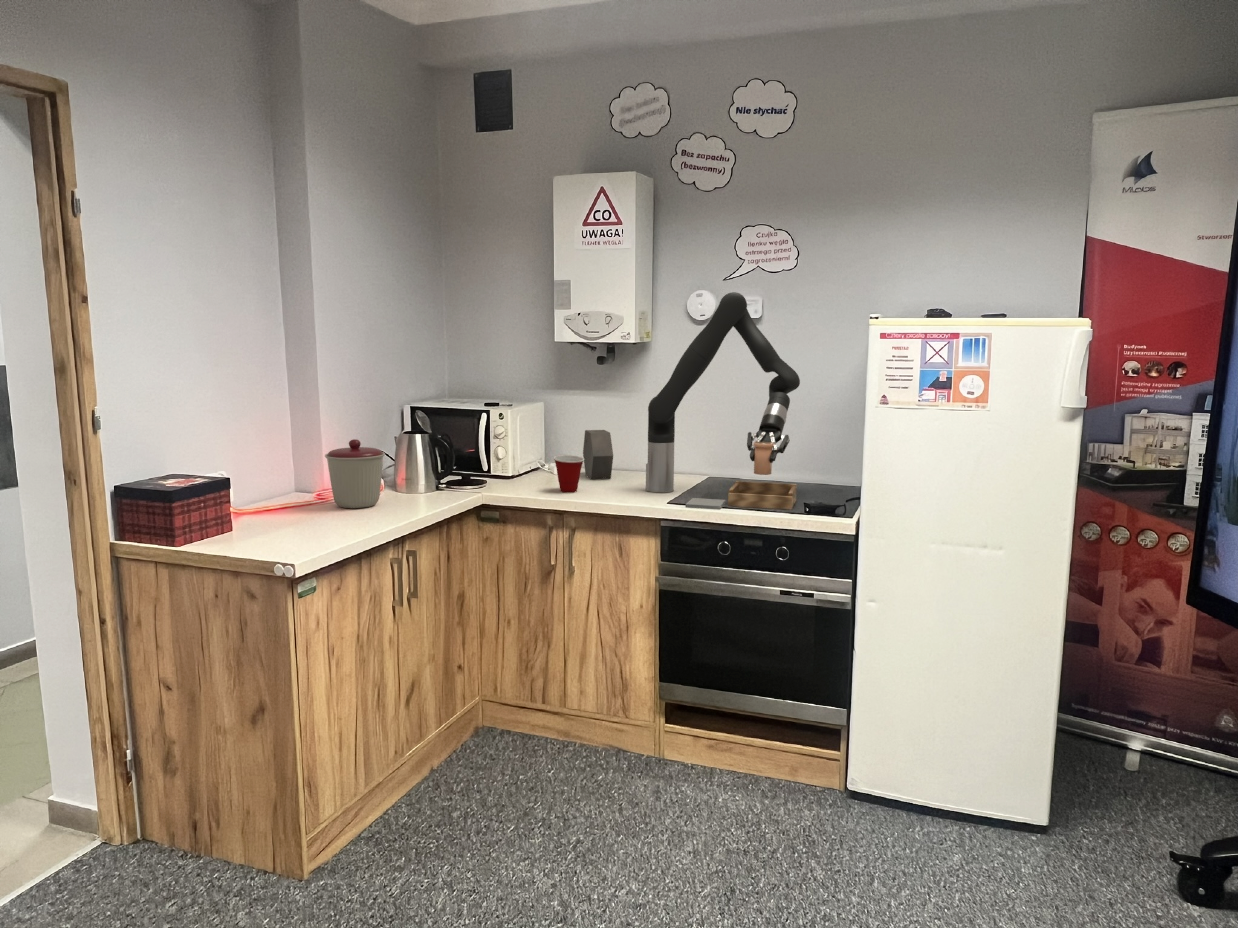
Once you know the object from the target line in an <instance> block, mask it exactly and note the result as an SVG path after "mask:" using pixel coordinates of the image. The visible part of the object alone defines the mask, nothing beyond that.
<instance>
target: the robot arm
mask: <svg viewBox="0 0 1238 928" xmlns="http://www.w3.org/2000/svg"><path fill="white" fill-rule="evenodd" d="M732 328H734V329H735V330H736V331H737V333H738V334H739V335H740V337H741V338H742V339H743V341H744V343H745V345H747V347H748V349H749V351H750V353H751V354H752V356H753V357H754V358H755V360H756V361H757V363H758V365H759V366H760V368H761V369H762V371H763V372H764V373H766V374H769V373H775V374H776V375H777V376H774V377H773V378H772V379H771V381H770V383H769V385H768V397H769V399H768V401H767V405H766V407H765V409H764V412H763V415H762V418H761V421H760V424H759V427H758V431H757V432H756V433H752V432H751V431H749V432H748V433H747V438H746V440H747V441H746V447H747V450H748V451H749V452H750V453H749V459H750V461H751V462H754V455H755V447H754V442H760V441H761V442H772V443H774V447H772V452H771V455H770V458H769V460H770V463H772V464H773V463H774V462H775V461H776V459H777V455H778V454H784V453H785V450H786V449H787V447H788V445H789V443H790V436H789V434H785V435H783V431H784V427H785V424H786V421H787V416H788V411H789V408H790V403H791V399H790V396H789V395H788V394H790V393H791V392H793V391H795V390H797V389H798V388H799V386H800V383H801V379H800V376H799V374H798V373H797V372H796V370H794V369H793V367H791V366H790V365H789V364H788V363H787V362H785V361H784V359H782V358H781V357H780V356H779V354H778V353H777V351H776V349H775V348H774V347H773V345H772V344H771V343H770V341H769V340H768V338H767V337H766V336H765V334H763V333H762V331H761V330H760V329H759V327H758V326H757V324H756V323H755V322H754V320H753V318H752V316H751V315H750V313H749V310H748V302H747V300H746V298H745V297H744V295H743V294H742V293H739V292H734V291H733V292H729V293H727V294H724V296H722V297H721V299H720V301H719V304H718V306H717V308H716V310H715V311H714V313H713V314H712V317H711V318H710V320H709V321H708V322H707V324H706V325H705V327H704V328H703V329H702V330H700V332H699V333H698V334H697V335H696V336H695V338H694V339H693V340H692V342H691V343H690V344H689V345H688V346H687V348H686V350H685V351H684V353H683V354H682V356H681V357H680V358H679V360H678V363H677V364H676V366H675V368H674V370H673V371H672V374H671V376H670V378H669V380H668V381H667V382H666V384H665V385H664V387H662V389H661V390H660V391H659V393H658V394H657V395H656V396H654V397H652V399H651V400H650V401H649V404H648V406H647V412H648V415H647V417H648V419H647V420H648V421H647V424H648V425H647V463H645V492H650V493H651V492H652V493H672V492H674V489H675V488H674V487H675V431H676V428H675V427H676V426H675V425H676V424H675V420H676V416H675V415H676V411H677V409H678V407H679V406H680V404H681V402H682V400H683V399H684V397H685V396H686V394H687V393H688V391H689V390H690V389H691V388H692V387H693V386H694V385H695V383H696V382H697V381H698V380H699V379H700V377H701V376H702V375H703V374H704V372H705V371H706V370H707V368H708V367H709V366H710V364H711V362H712V361H713V359H714V358H715V356H716V354H717V353H718V351H719V349H720V348H721V345H722V343H723V342H724V340H725V338H726V336H727V335H728V334H729V332H731V330H732ZM753 441H754V442H753ZM779 441H781V442H780V444H779V446H778V447H777V443H779Z"/></svg>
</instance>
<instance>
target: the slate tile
mask: <svg viewBox="0 0 1238 928" xmlns="http://www.w3.org/2000/svg"><path fill="white" fill-rule="evenodd" d="M726 503H727V501H726V499H713V498H700V497H699V498H698V497H692V498H691V499H690V500H689V501H688V502H686V503H685V508H691V509H692V508H693V509H709V510H712V509H713V510H721V509H722V508H723V507H724V506H725V504H726Z"/></svg>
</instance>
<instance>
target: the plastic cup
mask: <svg viewBox="0 0 1238 928" xmlns="http://www.w3.org/2000/svg"><path fill="white" fill-rule="evenodd" d="M553 460H554V463H555V467H556V474H557V481H558V485H559V486H558V487H559V490H560V492H561V491H562V493H576V492H577V490H578V488H579V482H580V476H581V471H582V467H583V464H584V460H585V459H584V457H582V456H578V455H571V454H568V455H567V454H563V455H562V454H561V455H560V454H559V455H555V456H553ZM575 491H576V492H575Z"/></svg>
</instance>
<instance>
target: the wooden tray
mask: <svg viewBox="0 0 1238 928" xmlns="http://www.w3.org/2000/svg"><path fill="white" fill-rule="evenodd" d="M727 497H728V498H727V506H728V507H743V508H757V509H758V508H761V509H772V510H773V509H774V510H775V509H776V510H793V508H794V506H795V503H796V501H797V483H785V482H784V483H782V482H780V483H779V482H765V481H763V482H762V481H741V480H735V483H734V484H733V485H732V486H731V487H730V488H729V490H728V494H727Z"/></svg>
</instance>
